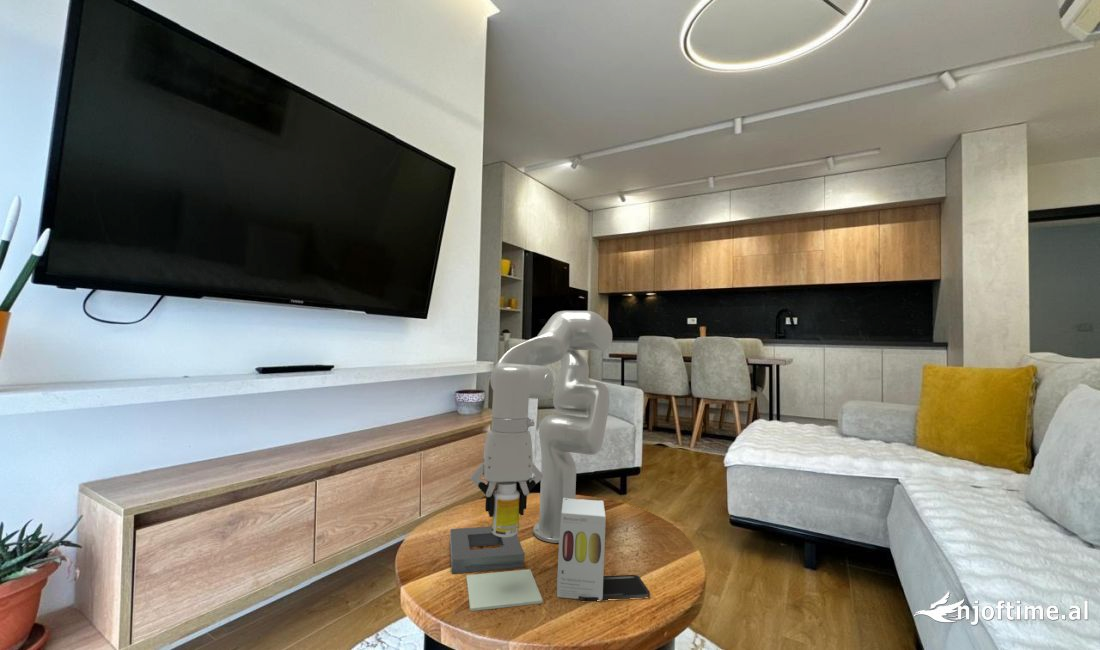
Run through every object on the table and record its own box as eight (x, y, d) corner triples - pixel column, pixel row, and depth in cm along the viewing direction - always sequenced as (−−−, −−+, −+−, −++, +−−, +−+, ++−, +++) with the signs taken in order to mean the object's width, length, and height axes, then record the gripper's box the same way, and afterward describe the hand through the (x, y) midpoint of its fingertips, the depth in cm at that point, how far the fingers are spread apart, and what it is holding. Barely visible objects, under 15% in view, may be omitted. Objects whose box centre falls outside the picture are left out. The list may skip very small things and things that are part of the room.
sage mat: (530, 571, 96) (530, 569, 96) (542, 603, 84) (542, 600, 84) (466, 577, 93) (466, 575, 93) (470, 611, 81) (470, 608, 81)
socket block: (512, 536, 113) (512, 524, 113) (524, 567, 98) (524, 553, 98) (449, 541, 109) (450, 529, 109) (451, 574, 94) (452, 559, 94)
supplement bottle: (523, 534, 88) (525, 483, 89) (500, 541, 85) (503, 488, 86) (508, 525, 93) (510, 476, 93) (486, 531, 89) (488, 480, 90)
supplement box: (556, 598, 86) (559, 512, 87) (558, 574, 95) (561, 496, 96) (604, 602, 86) (606, 515, 86) (601, 577, 95) (604, 499, 96)
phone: (571, 577, 93) (638, 574, 95) (571, 582, 93) (637, 579, 95) (579, 598, 85) (651, 594, 87) (579, 604, 85) (651, 600, 87)
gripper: (545, 422, 96) (541, 505, 95) (466, 422, 92) (462, 509, 91) (553, 428, 89) (550, 518, 88) (469, 429, 84) (464, 523, 83)
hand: (505, 512), depth 89 cm, fingers closed on supplement bottle, 5 cm apart
